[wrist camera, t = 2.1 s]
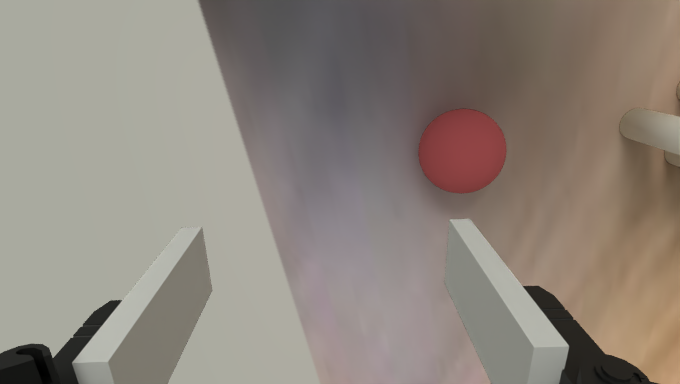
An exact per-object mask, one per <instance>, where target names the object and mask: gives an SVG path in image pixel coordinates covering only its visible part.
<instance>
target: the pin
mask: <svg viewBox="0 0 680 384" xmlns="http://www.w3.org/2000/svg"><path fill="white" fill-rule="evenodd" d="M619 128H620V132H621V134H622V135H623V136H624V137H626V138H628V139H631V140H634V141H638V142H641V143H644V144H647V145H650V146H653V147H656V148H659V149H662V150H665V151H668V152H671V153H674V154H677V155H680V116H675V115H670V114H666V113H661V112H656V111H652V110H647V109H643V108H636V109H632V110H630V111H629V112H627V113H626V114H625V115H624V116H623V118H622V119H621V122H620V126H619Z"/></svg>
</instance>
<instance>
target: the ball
mask: <svg viewBox="0 0 680 384" xmlns="http://www.w3.org/2000/svg"><path fill="white" fill-rule="evenodd" d="M505 158H506V142H505V138H504V135H503V133H502V131H501V129H500V127H499V126H498V125H497V123H496V122H495V121H494V120H493V119H491V118H490V117H489V116H487V115H486V114H484V113H482V112H479V111H476V110H471V109H456V110H451V111H448V112H446V113H443V114H441V115H440V116H438V117H437V118H435V119H434V120H433V121H432V122H431V123H430V124H429V125H428V126H427V128H426V129H425V131H424V133H423V135H422V137H421V140H420V143H419V161H420V165H421V167H422V170H423V172H424V173H425V175H426V176H427V178H428V179H429V180H430V181H431V182H432V183H433V184H435V185H436V186H437V187H439V188H441V189H443V190H446V191H449V192H453V193H469V192H474V191H477V190H479V189H481V188H483V187H485V186H487V185H488V184H490V183H491V182H492V181H493V180H494V179H495V178H496V177H497V176H498V174H499V173H500V171H501V169H502V167H503V165H504V162H505Z"/></svg>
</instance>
